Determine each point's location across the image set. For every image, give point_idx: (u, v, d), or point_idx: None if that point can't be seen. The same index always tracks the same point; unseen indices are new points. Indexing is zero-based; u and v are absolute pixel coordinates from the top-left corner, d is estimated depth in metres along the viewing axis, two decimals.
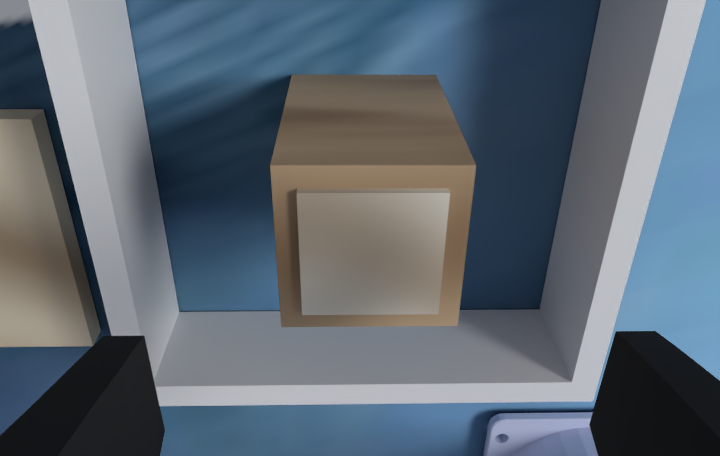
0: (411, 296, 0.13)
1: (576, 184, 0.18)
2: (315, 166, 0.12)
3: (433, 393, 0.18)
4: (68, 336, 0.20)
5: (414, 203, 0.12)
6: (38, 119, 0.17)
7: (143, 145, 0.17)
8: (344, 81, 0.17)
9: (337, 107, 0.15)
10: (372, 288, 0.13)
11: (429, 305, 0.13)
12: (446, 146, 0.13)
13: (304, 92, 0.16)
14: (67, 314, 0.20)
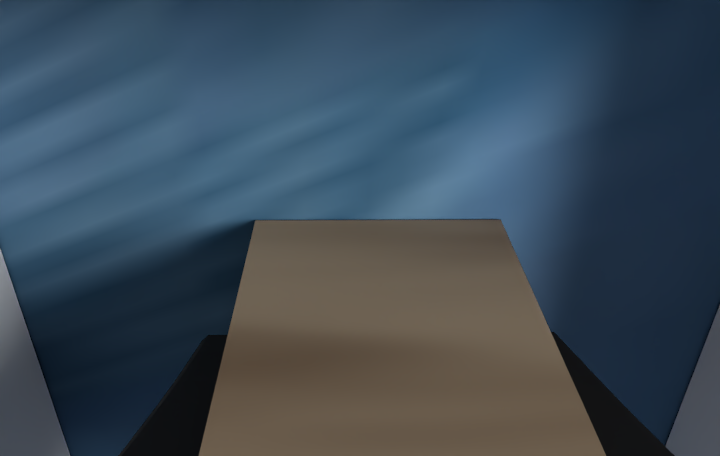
0: None
1: None
2: None
3: None
4: None
5: None
6: None
7: (6, 335, 0.10)
8: (345, 240, 0.09)
9: (331, 327, 0.08)
10: None
11: None
12: None
13: (272, 276, 0.09)
14: None
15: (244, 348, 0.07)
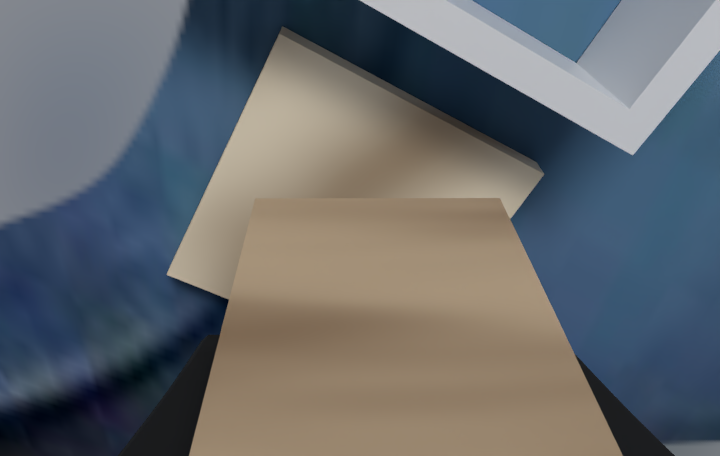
0: None
1: None
2: None
3: None
4: (516, 187, 0.17)
5: None
6: (286, 32, 0.15)
7: None
8: (344, 217, 0.09)
9: (331, 298, 0.08)
10: None
11: None
12: (573, 451, 0.06)
13: (272, 250, 0.09)
14: (493, 169, 0.17)
15: (244, 318, 0.07)
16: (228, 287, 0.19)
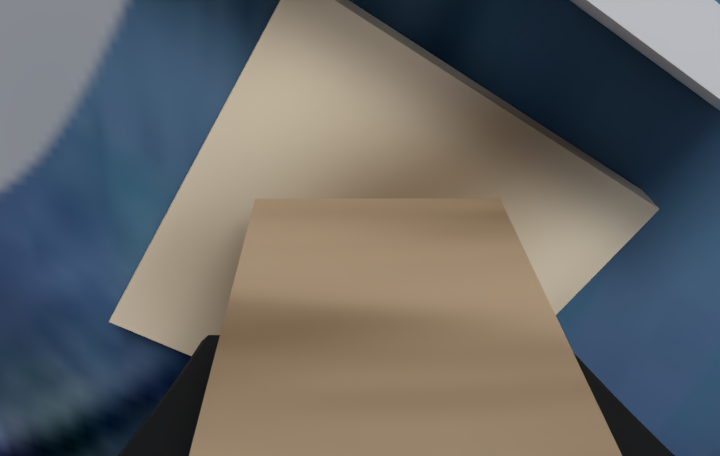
0: None
1: None
2: None
3: None
4: (616, 225, 0.12)
5: None
6: None
7: None
8: (344, 218, 0.09)
9: (331, 298, 0.08)
10: None
11: None
12: (573, 451, 0.06)
13: (272, 251, 0.09)
14: (588, 198, 0.12)
15: (244, 318, 0.07)
16: (196, 342, 0.13)
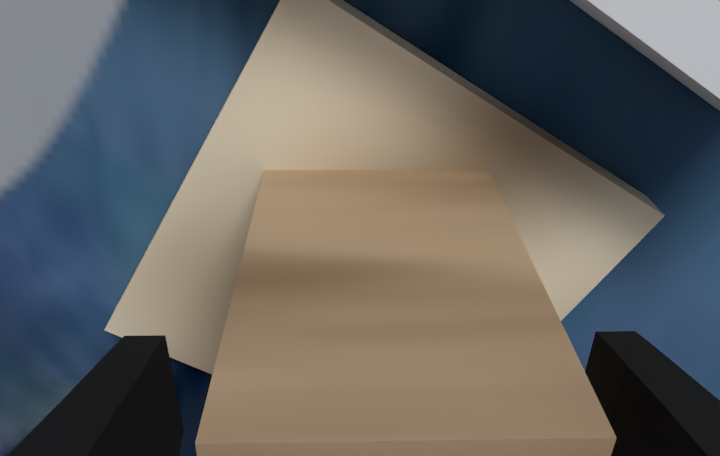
0: None
1: None
2: (288, 443, 0.06)
3: None
4: (621, 232, 0.12)
5: None
6: None
7: None
8: (345, 185, 0.10)
9: (334, 251, 0.09)
10: None
11: None
12: (543, 369, 0.07)
13: (280, 213, 0.10)
14: (593, 204, 0.11)
15: (256, 267, 0.08)
16: (193, 351, 0.13)
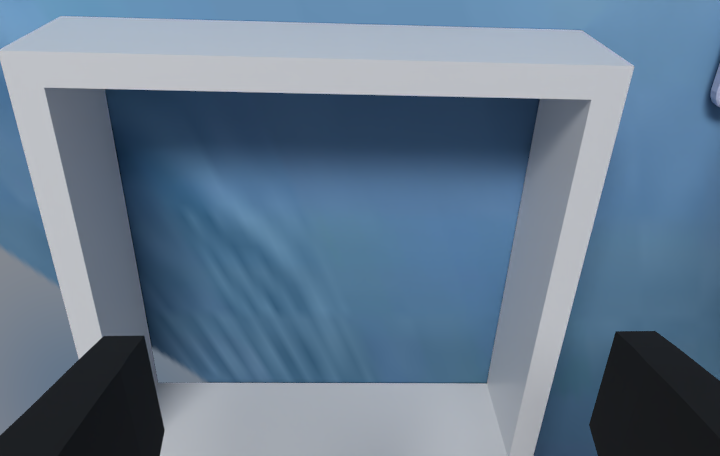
0: None
1: None
2: None
3: (571, 249, 0.16)
4: None
5: None
6: None
7: (319, 394, 0.23)
8: None
9: None
10: None
11: None
12: None
13: None
14: None
15: None
16: None
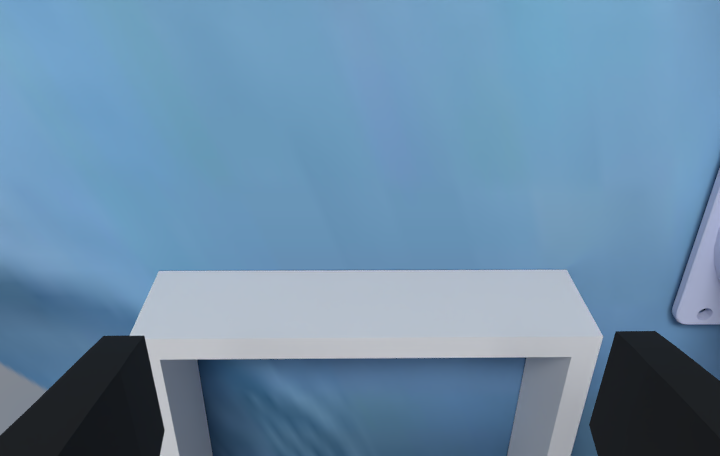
0: None
1: None
2: None
3: (560, 448, 0.21)
4: None
5: None
6: None
7: None
8: None
9: None
10: None
11: None
12: None
13: None
14: None
15: None
16: None
